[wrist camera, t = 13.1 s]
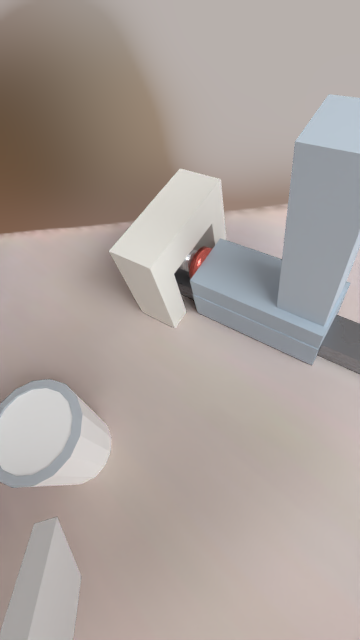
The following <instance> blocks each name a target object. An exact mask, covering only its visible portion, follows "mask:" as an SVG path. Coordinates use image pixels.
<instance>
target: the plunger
mask: <svg viewBox="0 0 360 640" xmlns="http://www.w3.org/2000/svg"><path fill="white" fill-rule="evenodd" d="M126 231H127V230H126ZM211 250H212V249H211V248H209V247H206V246H203V247H201V248H200V249H199V250H198V251H196V250H194V249H192V251H191V252H190V253H189V255H188V256H187V257H186V259H185V260H184V261H183V263H182V264H181V265H180V267H179V268H180V269H183V270H185V271H188V272H189V277H190V279H191V278H192V277H193V275H194V274H195V273H196V271H197V270H198V268H199V267H200V266H201V264H202V263H203V261H204V260H205V259H206V257H207V256H208V255H209V253H210V252H211Z"/></svg>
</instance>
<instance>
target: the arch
mask: <svg viewBox="0 0 360 640" xmlns="http://www.w3.org/2000/svg"><path fill="white" fill-rule="evenodd" d="M220 238H221V239H224V240H227V238H226V228H225V218H224V208H223V199H222V188H221V179H218V178H214V177H210V176H207V175H203V174H199V173H195V172H191V171H187V170H183V169H179V170H178V172H177V173H176V174H175V175H174V176H173V177H172V179H171V180H170V181H169V182H168V183H167V184H166V186H165V187H164V188H163V189H162V190H161V191H160V192H159V193H158V195H157V196H156V197H155V198H154V200H152V202H151V203H150V204H149V205H148V206H147V207H146V209H145V210H144V211H143V212H142V213H141V215H140V216H139V217H138V218H137V219H136V220H135V221H134V222H133V224H132V225H131V226H130V227H129V228H128V229H127V231H126V232H125V233H124V234H123V235H122V236H121V237H120V239H119V240H118V241H117V242H116V243H115V244H114V246H113V247H112V248H111V249H110V250H109V253H110V254H111V256H112V258H113V260H114V262H115V263H116V265H117V267H118V269H119V271H120V273H121V274H122V276H123V278H124V280H125V282H126V283H127V285H128V287H129V289H130V291H131V293H132V294H133V296H134V298H135V300H136V302H137V303H138V305H139V307H140V309H141V311H142V312H143V313H145V314H147V315H149V316H151V317H153V318H155V319H157V320H159V321H161V322H163V323H165V324H167V325H169V326H171V327H173V328H176V327H177V325H178V324H179V322H180V321H181V320H182V318H183V317H184V315H185V314H186V309H185V306H184V303H183V300H182V297H181V294H180V291H179V288H178V285H177V282H176V279H175V276H174V273H175V272H176V271H177V269H178V268H179V267H180V265H181V264H182V263H183V261H184V260H185V259H186V257H187V256H188V255H189V253H190V252H191V251H192V249H194V250H196V251H198V250H199V249H200V248H201V247H203V246H206V247H209V248H211V249H213V248H214V246H215V245H216V243H217V242H218V241H219V239H220Z"/></svg>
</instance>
